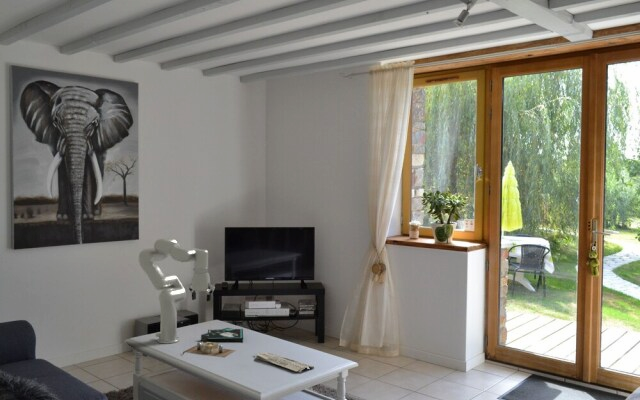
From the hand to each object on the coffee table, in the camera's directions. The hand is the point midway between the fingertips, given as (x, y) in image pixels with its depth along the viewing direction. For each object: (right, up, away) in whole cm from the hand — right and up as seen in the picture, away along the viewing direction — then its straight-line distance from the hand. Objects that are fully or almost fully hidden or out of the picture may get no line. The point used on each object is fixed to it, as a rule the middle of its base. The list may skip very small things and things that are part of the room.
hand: (201, 300), depth 337 cm
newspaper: (+49, -31, -25) cm, 63 cm away
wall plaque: (+11, -28, +20) cm, 37 cm away
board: (+7, -29, -9) cm, 31 cm away
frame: (+7, -27, -9) cm, 29 cm away
